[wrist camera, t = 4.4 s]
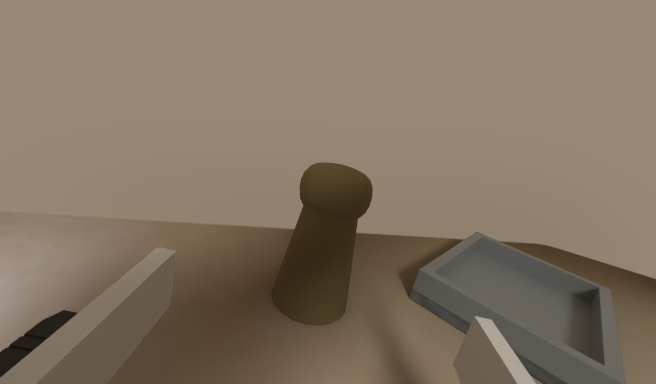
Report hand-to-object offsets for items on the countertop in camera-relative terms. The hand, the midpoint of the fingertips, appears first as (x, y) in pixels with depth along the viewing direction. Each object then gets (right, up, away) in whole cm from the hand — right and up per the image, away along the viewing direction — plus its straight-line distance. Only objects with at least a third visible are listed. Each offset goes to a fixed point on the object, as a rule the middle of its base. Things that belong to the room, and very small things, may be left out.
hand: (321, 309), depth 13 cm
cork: (-1, -4, +11) cm, 12 cm away
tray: (+19, -6, +17) cm, 26 cm away
